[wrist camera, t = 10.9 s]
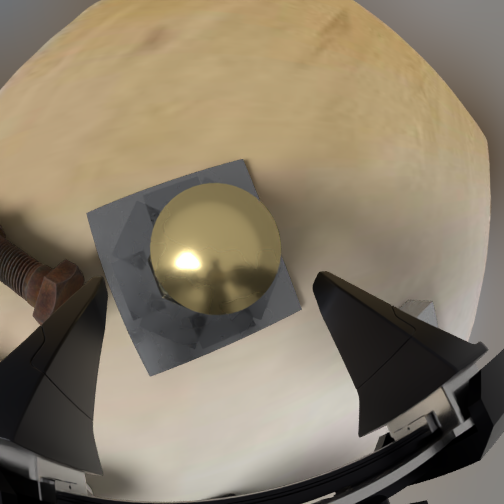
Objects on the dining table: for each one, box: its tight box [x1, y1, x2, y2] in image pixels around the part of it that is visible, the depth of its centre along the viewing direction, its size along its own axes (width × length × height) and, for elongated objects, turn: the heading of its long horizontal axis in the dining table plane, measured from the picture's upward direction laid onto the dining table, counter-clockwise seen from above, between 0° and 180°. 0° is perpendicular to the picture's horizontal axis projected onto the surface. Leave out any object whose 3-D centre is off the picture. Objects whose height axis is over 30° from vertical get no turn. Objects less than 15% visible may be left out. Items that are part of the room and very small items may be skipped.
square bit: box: [399, 300, 438, 328], centre depth 26 cm, size 10×4×4 cm, turn 26°
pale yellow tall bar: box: [150, 183, 281, 315], centre depth 15 cm, size 4×4×12 cm
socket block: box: [87, 159, 302, 376], centre depth 20 cm, size 14×14×4 cm
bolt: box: [0, 225, 84, 325], centre depth 15 cm, size 6×5×15 cm
